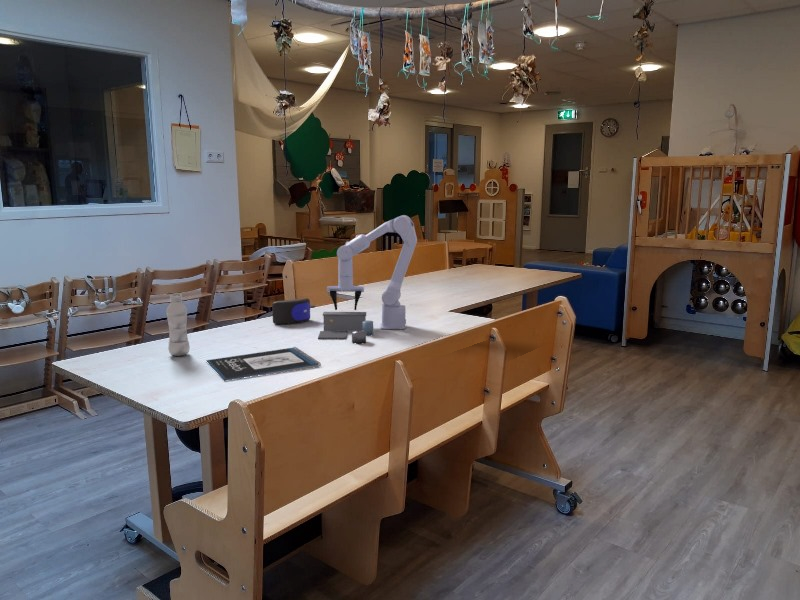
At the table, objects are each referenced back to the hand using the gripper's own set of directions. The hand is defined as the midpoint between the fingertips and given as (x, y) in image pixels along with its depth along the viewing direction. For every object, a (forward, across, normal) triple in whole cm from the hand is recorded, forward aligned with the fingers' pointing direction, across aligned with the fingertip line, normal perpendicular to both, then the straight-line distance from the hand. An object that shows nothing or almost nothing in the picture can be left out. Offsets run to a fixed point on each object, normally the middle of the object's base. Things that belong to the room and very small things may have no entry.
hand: (345, 309), depth 240 cm
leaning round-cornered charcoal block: (+7, +22, -5) cm, 24 cm away
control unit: (+6, 0, +8) cm, 10 cm away
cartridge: (+6, -9, +15) cm, 19 cm away
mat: (+6, +4, +17) cm, 19 cm away
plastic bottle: (+7, +52, +43) cm, 68 cm away
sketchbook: (+7, +23, +53) cm, 58 cm away
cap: (+6, -6, +26) cm, 27 cm away
